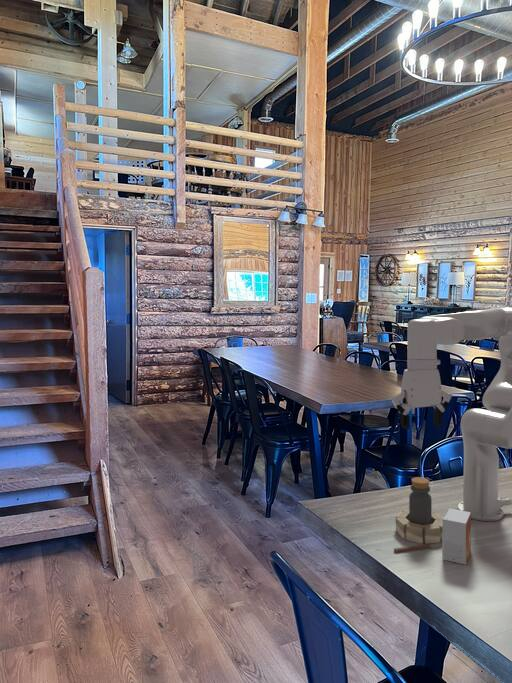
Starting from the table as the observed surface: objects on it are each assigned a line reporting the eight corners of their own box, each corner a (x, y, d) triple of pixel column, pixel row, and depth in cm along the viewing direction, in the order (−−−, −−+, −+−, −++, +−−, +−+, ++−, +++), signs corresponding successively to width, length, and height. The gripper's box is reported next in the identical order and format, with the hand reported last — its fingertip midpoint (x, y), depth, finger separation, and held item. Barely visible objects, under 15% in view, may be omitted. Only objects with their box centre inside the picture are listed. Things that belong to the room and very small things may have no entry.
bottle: (432, 538, 136) (433, 484, 135) (410, 536, 138) (410, 483, 136) (429, 528, 142) (430, 476, 141) (408, 527, 143) (408, 475, 142)
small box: (465, 565, 122) (466, 524, 121) (441, 559, 125) (442, 519, 124) (471, 551, 129) (471, 511, 128) (448, 546, 132) (448, 507, 131)
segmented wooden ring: (428, 520, 147) (428, 507, 147) (453, 540, 135) (454, 525, 135) (389, 525, 145) (389, 511, 144) (411, 545, 132) (411, 531, 132)
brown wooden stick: (428, 546, 132) (428, 543, 132) (430, 547, 131) (430, 545, 131) (393, 551, 130) (393, 548, 130) (395, 552, 129) (395, 550, 129)
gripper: (442, 361, 141) (442, 421, 143) (385, 364, 138) (386, 426, 139) (458, 364, 134) (458, 427, 135) (399, 368, 130) (399, 433, 132)
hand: (421, 426), depth 137 cm, fingers open, 9 cm apart
